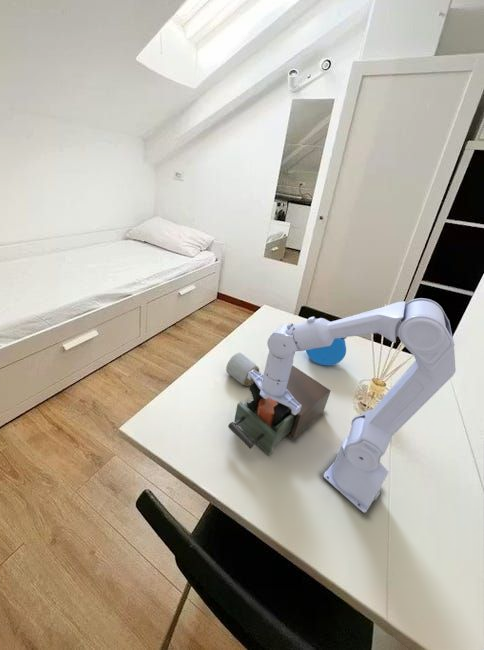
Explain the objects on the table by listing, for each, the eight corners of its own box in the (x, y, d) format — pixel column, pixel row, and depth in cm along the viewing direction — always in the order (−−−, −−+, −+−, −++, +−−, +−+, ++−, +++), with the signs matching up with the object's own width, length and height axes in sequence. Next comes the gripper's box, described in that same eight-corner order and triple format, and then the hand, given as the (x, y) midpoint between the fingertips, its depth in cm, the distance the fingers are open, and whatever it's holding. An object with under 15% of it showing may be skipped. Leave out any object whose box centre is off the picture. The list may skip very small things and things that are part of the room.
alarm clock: (338, 360, 106) (350, 325, 100) (340, 371, 101) (352, 334, 95) (302, 351, 109) (311, 316, 104) (301, 360, 104) (311, 324, 98)
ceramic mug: (244, 392, 87) (248, 371, 84) (224, 377, 92) (227, 357, 89) (264, 377, 94) (269, 357, 91) (244, 364, 99) (248, 345, 96)
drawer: (254, 468, 65) (259, 448, 62) (219, 431, 72) (222, 412, 70) (301, 426, 76) (307, 408, 74) (267, 399, 84) (271, 381, 81)
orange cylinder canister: (280, 422, 73) (284, 407, 71) (267, 432, 70) (270, 417, 68) (264, 408, 77) (267, 394, 75) (251, 418, 74) (254, 403, 72)
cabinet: (293, 439, 73) (300, 415, 70) (255, 407, 82) (259, 384, 79) (323, 412, 83) (330, 390, 79) (286, 385, 91) (291, 364, 88)
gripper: (242, 362, 70) (235, 404, 75) (293, 400, 60) (280, 445, 66) (261, 352, 74) (253, 393, 80) (311, 386, 65) (298, 429, 70)
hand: (266, 415), depth 73 cm, fingers closed on orange cylinder canister, 5 cm apart
